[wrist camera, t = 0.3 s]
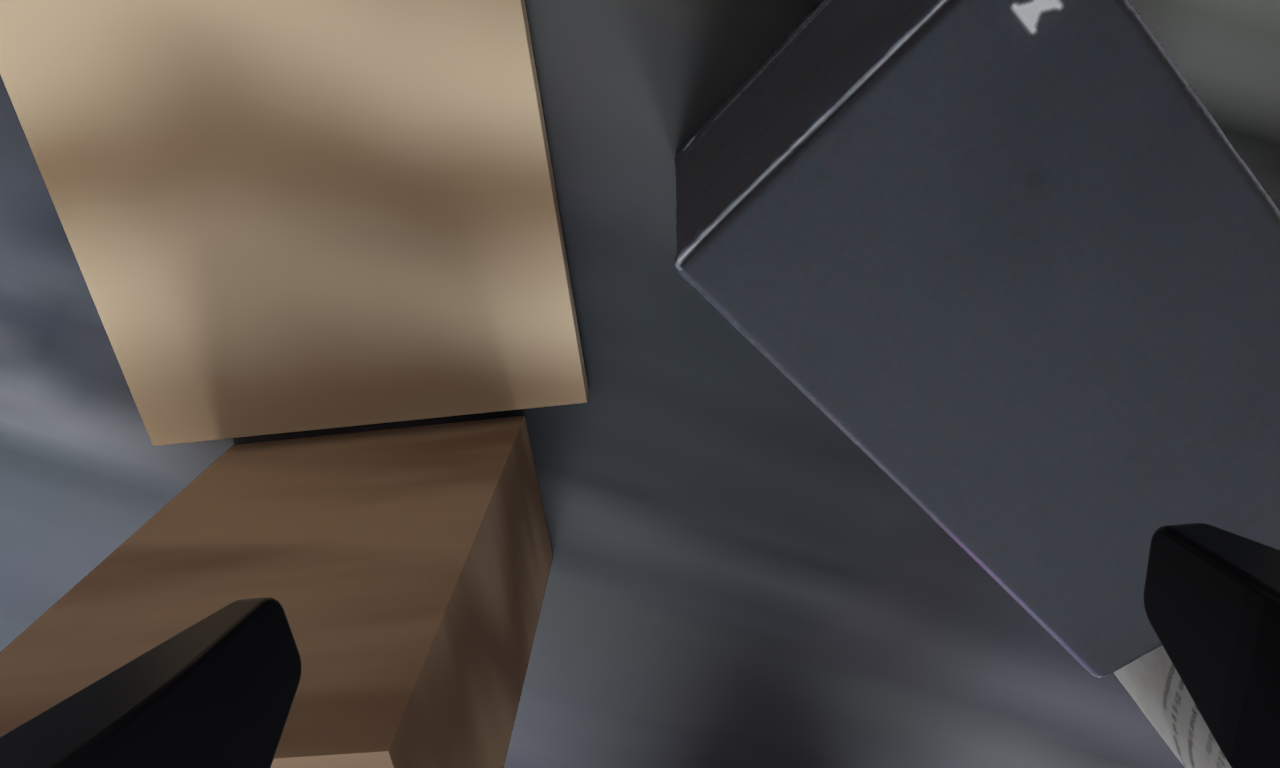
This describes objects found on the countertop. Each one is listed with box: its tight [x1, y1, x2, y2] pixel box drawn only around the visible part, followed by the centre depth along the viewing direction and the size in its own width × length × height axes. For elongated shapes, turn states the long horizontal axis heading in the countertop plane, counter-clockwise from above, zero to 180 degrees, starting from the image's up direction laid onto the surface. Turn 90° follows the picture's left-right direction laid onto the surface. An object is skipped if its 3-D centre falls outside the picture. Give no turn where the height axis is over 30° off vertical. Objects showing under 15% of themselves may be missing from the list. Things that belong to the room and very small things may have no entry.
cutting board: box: [0, 0, 589, 446], centre depth 20 cm, size 14×13×1 cm
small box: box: [675, 0, 1280, 678], centre depth 15 cm, size 11×6×10 cm, turn 46°
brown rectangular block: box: [0, 416, 553, 768], centre depth 19 cm, size 5×9×12 cm, turn 97°
